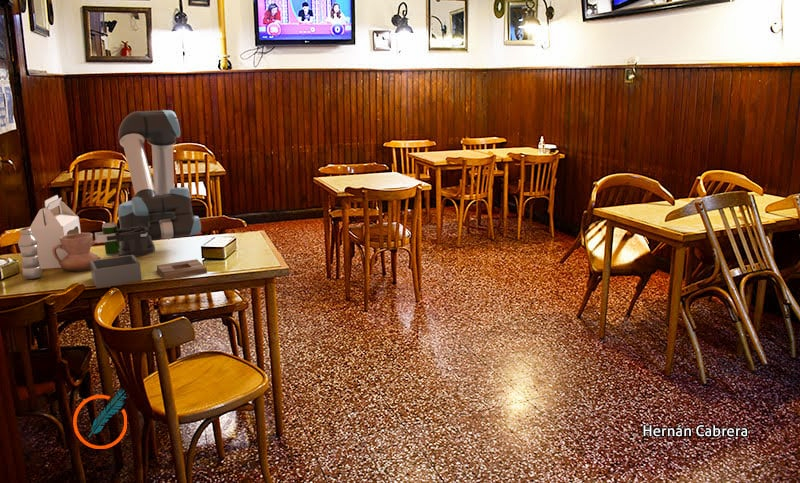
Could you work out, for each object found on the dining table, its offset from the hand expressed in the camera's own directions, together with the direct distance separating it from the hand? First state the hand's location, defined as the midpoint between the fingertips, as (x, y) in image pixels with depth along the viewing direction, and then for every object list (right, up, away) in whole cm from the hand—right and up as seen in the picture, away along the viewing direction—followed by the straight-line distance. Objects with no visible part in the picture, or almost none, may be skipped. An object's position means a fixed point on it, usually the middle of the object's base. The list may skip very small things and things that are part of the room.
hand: (96, 237), depth 250 cm
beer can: (+5, -6, +4) cm, 9 cm away
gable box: (-32, -10, +36) cm, 49 cm away
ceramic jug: (-18, -13, +23) cm, 32 cm away
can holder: (+27, -13, +16) cm, 34 cm away
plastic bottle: (-30, -16, +11) cm, 36 cm away
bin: (+5, -16, +7) cm, 18 cm away
